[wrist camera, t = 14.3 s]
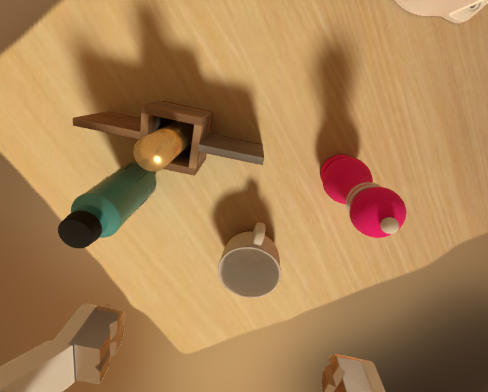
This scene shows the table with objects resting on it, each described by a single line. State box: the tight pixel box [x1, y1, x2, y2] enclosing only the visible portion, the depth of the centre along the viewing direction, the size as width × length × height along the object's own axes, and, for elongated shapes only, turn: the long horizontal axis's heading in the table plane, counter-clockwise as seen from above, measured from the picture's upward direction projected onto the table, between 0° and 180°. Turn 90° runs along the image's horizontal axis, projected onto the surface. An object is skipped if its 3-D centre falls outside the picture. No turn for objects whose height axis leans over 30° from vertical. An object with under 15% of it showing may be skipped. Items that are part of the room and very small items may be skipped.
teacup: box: [218, 223, 281, 298], centre depth 49 cm, size 14×11×8 cm
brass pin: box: [133, 121, 194, 172], centre depth 38 cm, size 4×4×16 cm
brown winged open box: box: [73, 101, 264, 175], centre depth 41 cm, size 8×26×9 cm, turn 78°
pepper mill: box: [320, 155, 406, 238], centre depth 37 cm, size 7×7×20 cm
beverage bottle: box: [58, 163, 156, 248], centre depth 39 cm, size 6×7×20 cm
